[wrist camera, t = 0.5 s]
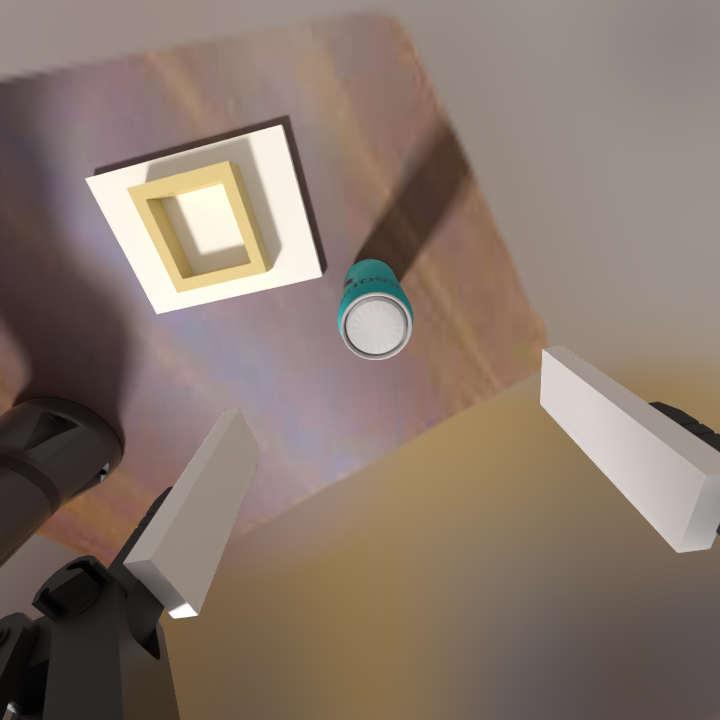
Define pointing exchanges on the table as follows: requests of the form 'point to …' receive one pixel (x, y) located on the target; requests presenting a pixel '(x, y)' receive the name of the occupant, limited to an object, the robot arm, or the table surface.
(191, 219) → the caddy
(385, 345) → the beverage can
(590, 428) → the robot arm
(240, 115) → the table surface
